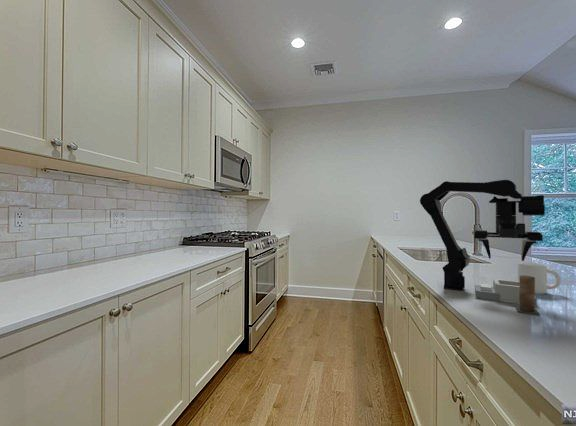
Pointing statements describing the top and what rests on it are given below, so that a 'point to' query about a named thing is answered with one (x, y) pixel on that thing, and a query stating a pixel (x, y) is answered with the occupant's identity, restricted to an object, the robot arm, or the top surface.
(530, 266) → the mug
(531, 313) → the pad
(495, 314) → the top surface
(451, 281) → the robot arm
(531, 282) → the dowel
